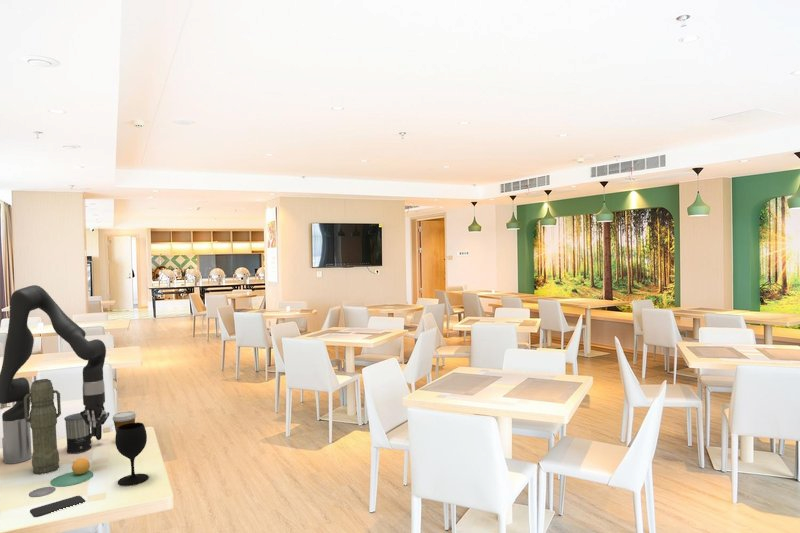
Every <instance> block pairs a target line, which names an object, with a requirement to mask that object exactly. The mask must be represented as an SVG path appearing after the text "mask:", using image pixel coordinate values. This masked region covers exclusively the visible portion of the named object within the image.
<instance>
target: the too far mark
mask: <svg viewBox="0 0 800 533" xmlns="http://www.w3.org/2000/svg"><path fill="white" fill-rule="evenodd" d="M56 488H57V487H56V486H45V487H40V488H36V489H33V490H32V491H30V492H29V493H28V496H29V497H31V498H40V497H44V496H48V495H50V494H52V493H54V492H55V491H56Z"/></svg>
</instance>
